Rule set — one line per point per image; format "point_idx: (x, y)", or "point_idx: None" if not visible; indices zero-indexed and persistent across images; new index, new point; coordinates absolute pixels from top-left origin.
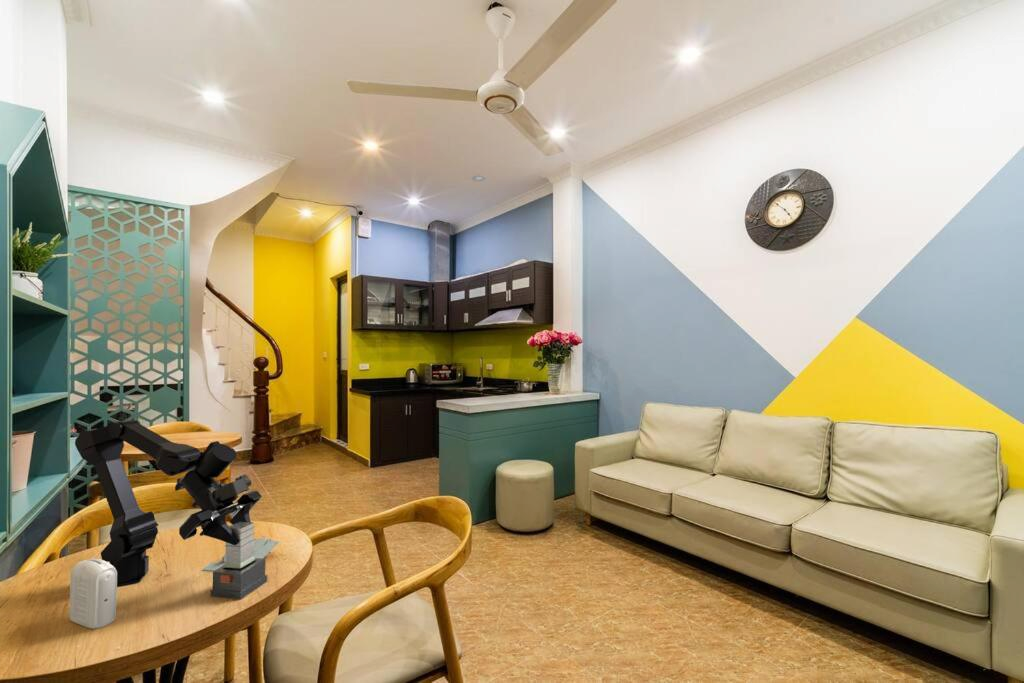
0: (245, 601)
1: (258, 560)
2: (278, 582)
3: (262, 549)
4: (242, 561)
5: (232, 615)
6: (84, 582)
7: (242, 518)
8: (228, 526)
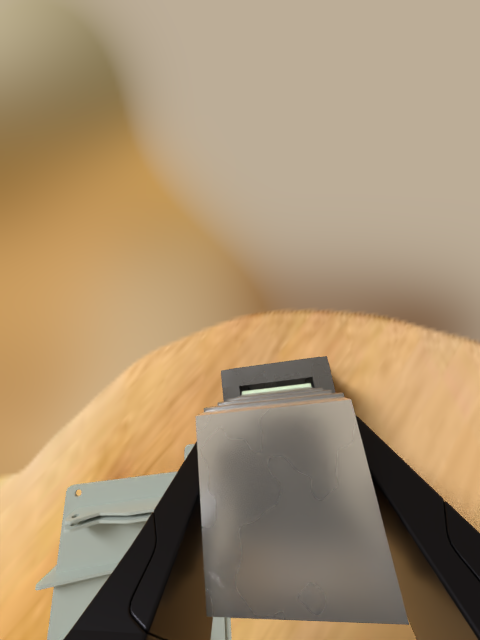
0: (318, 340)
1: (235, 383)
2: (229, 339)
3: (118, 506)
4: (300, 387)
5: (372, 316)
6: None
7: (167, 626)
8: (439, 568)
